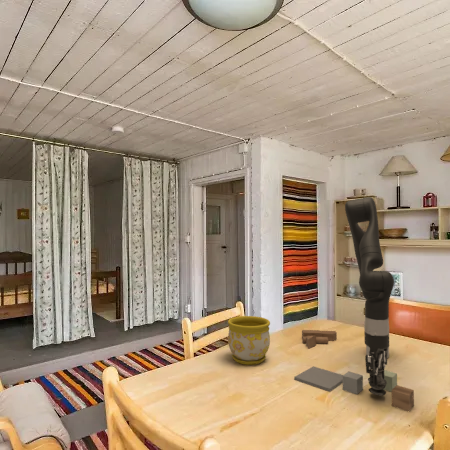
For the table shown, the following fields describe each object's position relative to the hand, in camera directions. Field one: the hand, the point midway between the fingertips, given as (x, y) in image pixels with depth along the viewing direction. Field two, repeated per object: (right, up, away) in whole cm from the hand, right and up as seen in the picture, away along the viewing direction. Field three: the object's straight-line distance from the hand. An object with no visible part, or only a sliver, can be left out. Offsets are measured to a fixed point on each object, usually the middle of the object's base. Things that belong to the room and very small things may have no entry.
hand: (377, 382), depth 114 cm
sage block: (+7, -5, +7) cm, 11 cm away
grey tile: (-15, -5, +13) cm, 21 cm away
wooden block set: (-3, -7, +55) cm, 55 cm away
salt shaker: (0, -3, 0) cm, 3 cm away
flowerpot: (-40, -6, +33) cm, 52 cm away
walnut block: (+5, -5, -6) cm, 9 cm away
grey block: (-6, -5, +5) cm, 10 cm away
